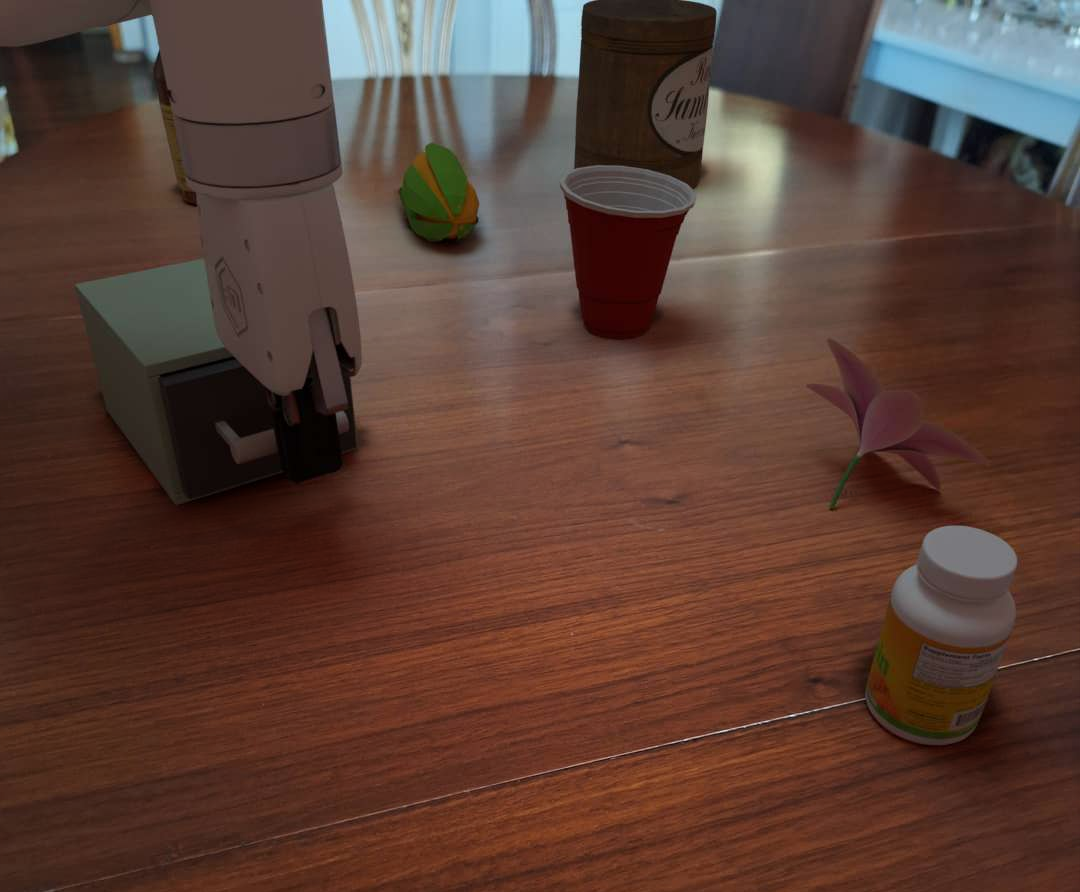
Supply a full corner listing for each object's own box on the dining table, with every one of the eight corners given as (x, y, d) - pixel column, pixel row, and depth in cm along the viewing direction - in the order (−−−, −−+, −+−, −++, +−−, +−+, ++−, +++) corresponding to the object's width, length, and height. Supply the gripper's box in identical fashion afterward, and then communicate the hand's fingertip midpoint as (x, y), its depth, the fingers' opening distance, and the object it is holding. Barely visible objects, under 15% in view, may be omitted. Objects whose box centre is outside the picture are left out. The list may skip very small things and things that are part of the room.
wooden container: (685, 204, 115) (706, -21, 102) (557, 188, 118) (563, -30, 106) (711, 168, 126) (733, -38, 113) (594, 155, 130) (603, -46, 117)
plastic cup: (665, 362, 82) (679, 212, 75) (537, 340, 85) (539, 193, 78) (696, 311, 91) (712, 171, 84) (579, 293, 93) (584, 156, 86)
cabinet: (358, 449, 71) (345, 317, 65) (175, 506, 65) (144, 366, 59) (272, 368, 80) (254, 247, 75) (107, 411, 74) (74, 283, 69)
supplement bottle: (865, 662, 54) (907, 506, 48) (974, 684, 53) (1030, 527, 47) (860, 734, 50) (905, 574, 44) (979, 760, 48) (1040, 598, 43)
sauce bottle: (236, 187, 117) (206, -10, 105) (241, 204, 112) (210, -1, 100) (176, 192, 115) (138, -8, 104) (178, 210, 110) (139, 2, 99)
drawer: (386, 475, 66) (377, 364, 62) (214, 532, 61) (190, 415, 56) (275, 371, 78) (260, 271, 73) (122, 411, 73) (96, 306, 68)
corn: (413, 177, 95) (385, 122, 111) (412, 257, 100) (385, 194, 115) (492, 178, 97) (453, 124, 113) (487, 257, 101) (450, 194, 117)
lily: (975, 564, 63) (1044, 414, 61) (815, 511, 59) (883, 350, 57) (868, 512, 74) (923, 384, 72) (728, 464, 70) (782, 328, 68)
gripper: (137, 127, 53) (207, 438, 64) (242, 198, 43) (304, 554, 54) (274, 107, 57) (319, 405, 67) (401, 168, 47) (431, 508, 57)
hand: (312, 470), depth 61 cm, fingers closed
